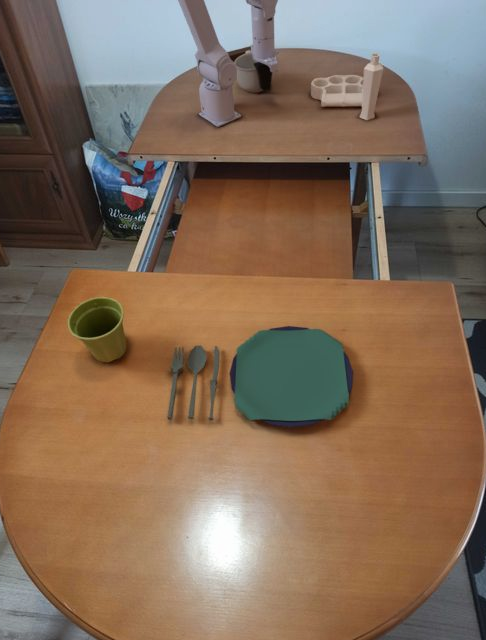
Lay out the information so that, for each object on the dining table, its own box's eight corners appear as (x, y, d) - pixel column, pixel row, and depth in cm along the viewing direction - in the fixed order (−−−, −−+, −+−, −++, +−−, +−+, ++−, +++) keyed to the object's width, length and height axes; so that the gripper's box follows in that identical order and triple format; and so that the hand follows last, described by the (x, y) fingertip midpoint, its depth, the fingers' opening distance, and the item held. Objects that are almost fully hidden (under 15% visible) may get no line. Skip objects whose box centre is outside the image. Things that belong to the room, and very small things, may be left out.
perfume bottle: (355, 113, 132) (363, 52, 120) (372, 111, 132) (380, 49, 120) (360, 121, 129) (368, 60, 117) (377, 119, 129) (386, 57, 117)
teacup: (274, 95, 142) (273, 65, 136) (236, 98, 143) (234, 69, 136) (271, 73, 150) (271, 44, 144) (236, 76, 151) (234, 48, 145)
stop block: (255, 66, 154) (254, 49, 150) (225, 74, 153) (223, 57, 149) (251, 63, 156) (250, 45, 152) (221, 70, 154) (220, 53, 150)
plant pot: (73, 363, 87) (56, 332, 81) (100, 324, 93) (85, 291, 86) (120, 376, 85) (106, 344, 78) (144, 335, 90) (133, 302, 83)
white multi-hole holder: (309, 110, 135) (311, 85, 144) (377, 109, 132) (375, 84, 141) (309, 97, 132) (312, 73, 141) (379, 97, 129) (377, 71, 138)
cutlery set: (358, 433, 75) (360, 425, 73) (163, 433, 77) (160, 426, 76) (345, 331, 87) (347, 323, 85) (177, 334, 90) (175, 326, 88)
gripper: (288, 41, 126) (288, 95, 136) (266, 22, 134) (268, 75, 145) (263, 48, 125) (265, 102, 135) (242, 28, 133) (245, 81, 144)
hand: (265, 88), depth 140 cm, fingers closed, pressing on teacup
